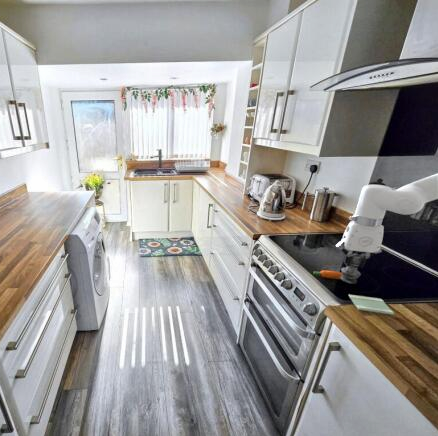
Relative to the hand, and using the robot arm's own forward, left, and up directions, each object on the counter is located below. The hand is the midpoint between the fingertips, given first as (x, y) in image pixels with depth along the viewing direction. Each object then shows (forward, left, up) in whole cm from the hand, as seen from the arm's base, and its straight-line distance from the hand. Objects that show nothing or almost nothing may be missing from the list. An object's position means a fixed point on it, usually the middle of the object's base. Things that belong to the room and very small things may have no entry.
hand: (352, 264), depth 90 cm
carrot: (+3, -6, -11) cm, 13 cm away
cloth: (-4, +9, -11) cm, 14 cm away
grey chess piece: (0, 0, -7) cm, 7 cm away
